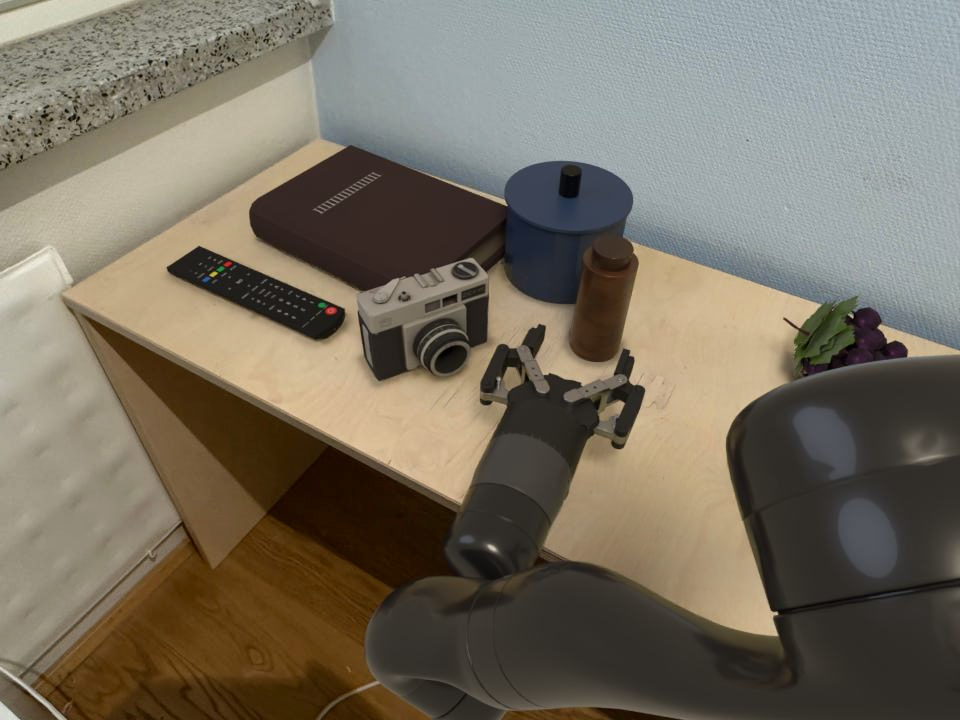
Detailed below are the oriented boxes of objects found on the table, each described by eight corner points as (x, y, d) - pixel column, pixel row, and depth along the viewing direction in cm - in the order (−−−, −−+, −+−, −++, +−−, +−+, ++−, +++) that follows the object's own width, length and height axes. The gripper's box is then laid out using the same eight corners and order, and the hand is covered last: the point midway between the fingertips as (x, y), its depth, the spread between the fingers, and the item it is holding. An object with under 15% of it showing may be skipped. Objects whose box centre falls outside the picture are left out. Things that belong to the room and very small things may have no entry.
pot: (628, 255, 88) (644, 184, 80) (590, 317, 79) (604, 245, 72) (531, 225, 92) (537, 156, 85) (485, 281, 84) (487, 209, 76)
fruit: (869, 453, 70) (743, 373, 72) (897, 381, 75) (778, 309, 77) (942, 414, 61) (795, 324, 63) (969, 336, 66) (831, 255, 68)
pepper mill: (625, 337, 77) (649, 239, 67) (609, 368, 73) (631, 270, 64) (580, 322, 79) (596, 224, 69) (562, 351, 75) (576, 253, 65)
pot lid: (648, 188, 81) (655, 157, 78) (605, 253, 72) (612, 220, 69) (535, 157, 86) (538, 127, 83) (481, 215, 76) (482, 183, 73)
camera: (381, 405, 69) (371, 332, 62) (360, 349, 75) (349, 277, 68) (505, 372, 73) (509, 299, 66) (476, 321, 79) (476, 250, 72)
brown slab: (255, 244, 88) (245, 205, 84) (355, 181, 100) (350, 144, 95) (422, 328, 77) (420, 289, 73) (513, 247, 89) (516, 209, 84)
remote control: (201, 254, 86) (198, 245, 85) (349, 319, 78) (348, 310, 77) (169, 276, 83) (166, 267, 82) (320, 346, 75) (318, 337, 74)
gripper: (619, 469, 51) (663, 334, 61) (447, 412, 54) (517, 294, 65) (604, 522, 56) (647, 389, 66) (449, 466, 60) (513, 349, 70)
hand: (582, 342), depth 66 cm, fingers open, 8 cm apart
